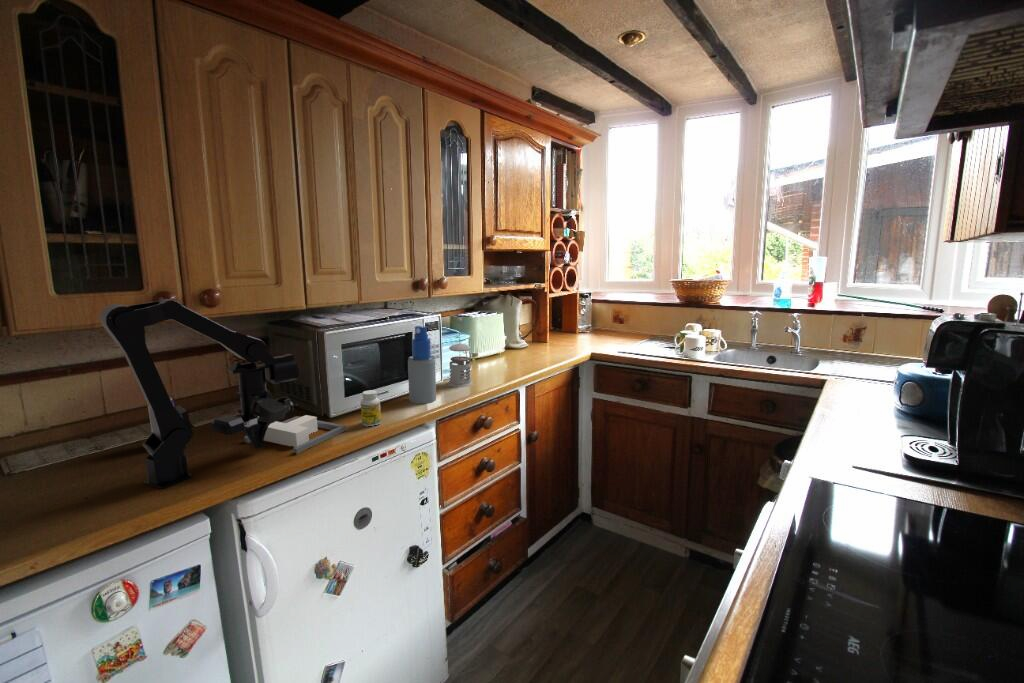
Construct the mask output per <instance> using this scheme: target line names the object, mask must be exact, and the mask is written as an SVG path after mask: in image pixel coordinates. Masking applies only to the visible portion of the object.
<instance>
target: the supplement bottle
mask: <svg viewBox="0 0 1024 683" xmlns="http://www.w3.org/2000/svg"><path fill="white" fill-rule="evenodd" d="M362 397H363V398H362V399H361V400H360V408H361V409H360V411H361V424H362V426H364V427H368V426H372V427H375V426H374V425H377V426H379V425H380V424H381V423H382V415H381V400H380V398H379V397H378V392H377V390H376V389H375V390H373V389H372V390H371V389H370V390H364V391H362ZM378 424H379V425H378Z"/></svg>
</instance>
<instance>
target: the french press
mask: <svg viewBox="0 0 1024 683" xmlns="http://www.w3.org/2000/svg"><path fill="white" fill-rule="evenodd" d="M456 321H457V322H458V328H459V329H458V333H459V336H458V337H459V338H458V339H459V343H455V344H452V345H450V346H449V347H448V349H449V350H450V351H452V352H462V353H463V354H465V356H461V355H460V356H459V355H456V356H452V357H450V361H449V381H448V382H447V384H446V385H447V386H449V387H452V388H465V387H467V388H468V387H471V386H473V385H474V382H473V381H472V379H471V377H472V376H471V360H472V359H471V357H472V356H471V352H470V350H471V348H472V347H470V346H469V345H468V344H465V343H462V342H461V327H460V326H461V322H462V321H463V319H462V318H461V317H458V318H457V319H456ZM467 353H469V357H468V355H467Z"/></svg>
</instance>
